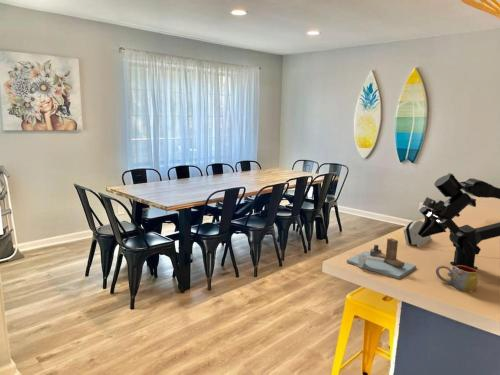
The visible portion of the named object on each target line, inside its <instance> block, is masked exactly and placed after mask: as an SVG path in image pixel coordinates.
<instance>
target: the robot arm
mask: <svg viewBox="0 0 500 375" xmlns="http://www.w3.org/2000/svg"><path fill="white" fill-rule="evenodd" d="M434 187H435V188H436V189H438V191H439V192H440V193H441V194H442V195H443V196H444V198H448V199H447V200H446V201H444V200H441V199H439V198H438V199H436V200H434V199H432V198H430V197H428V196H426V198H425V200H424V201H423V203H422V206H421V208H420V209H418V211H419V212H420V213H421V214H422V215H423V217H424V221H423V222H424V223H423V225H422V227H421V229H420V231H419V232H418V235H420V236H421V237H427V236H432V235H436V234H441V233H447V229H448V231H449V241H450V242H451V243H452V245H453V247H455V250H454V255H453V256H454V257H453V261H450V262H449V263H450V264H451V265H452V266H457V265H463V266H467V267H470V268H473V269H475V270H478V267H477V266H476V265H475V260H476V255H479V253H480V252H481V248H480V247H479V244H480V243H481V242H482V241H484V240H489V239H493V238H497V237H500V222H495V223H492V224H488V225H484V226H480V227H476V228H475V227H473V226H472V225H469V224H464V225H462V226H458V224H456V223H455V221H454V220H453V219H454V218H456V217H457V218H459V217H460V216H461V214H460V213H461V212H462V211H463V210H464V209H466V208H467V207H468V206H470V207H474V208H476V207H477V199H476V198H488V199H489V198H493V199H494V198H495V199H498V200H500V187H497V186H494V185H493V184H491V183H488V182H486V181H483V180H480V179H476V178H468V179H467V180H466V181H459V180H458V179H457V178H456V177H455V175H454V174H453V173H450V172H449V173H447V174H446V175H443V176H441V177H439V178H437V179H436V181H435V182H434ZM463 191H464V192H463ZM470 195H471V196H473V197H471V196H470ZM474 197H475V198H474Z"/></svg>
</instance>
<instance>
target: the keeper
mask: <svg viewBox="0 0 500 375" xmlns="http://www.w3.org/2000/svg"><path fill="white" fill-rule="evenodd" d="M359 254H360V253H359ZM366 260H372V261H378V262H384V260H385V258H379V257H372V256H366V255H364V254H360V255H359V257H358V266H357V267H358V268H360V269H365V268H364V265H365V264H366Z"/></svg>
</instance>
